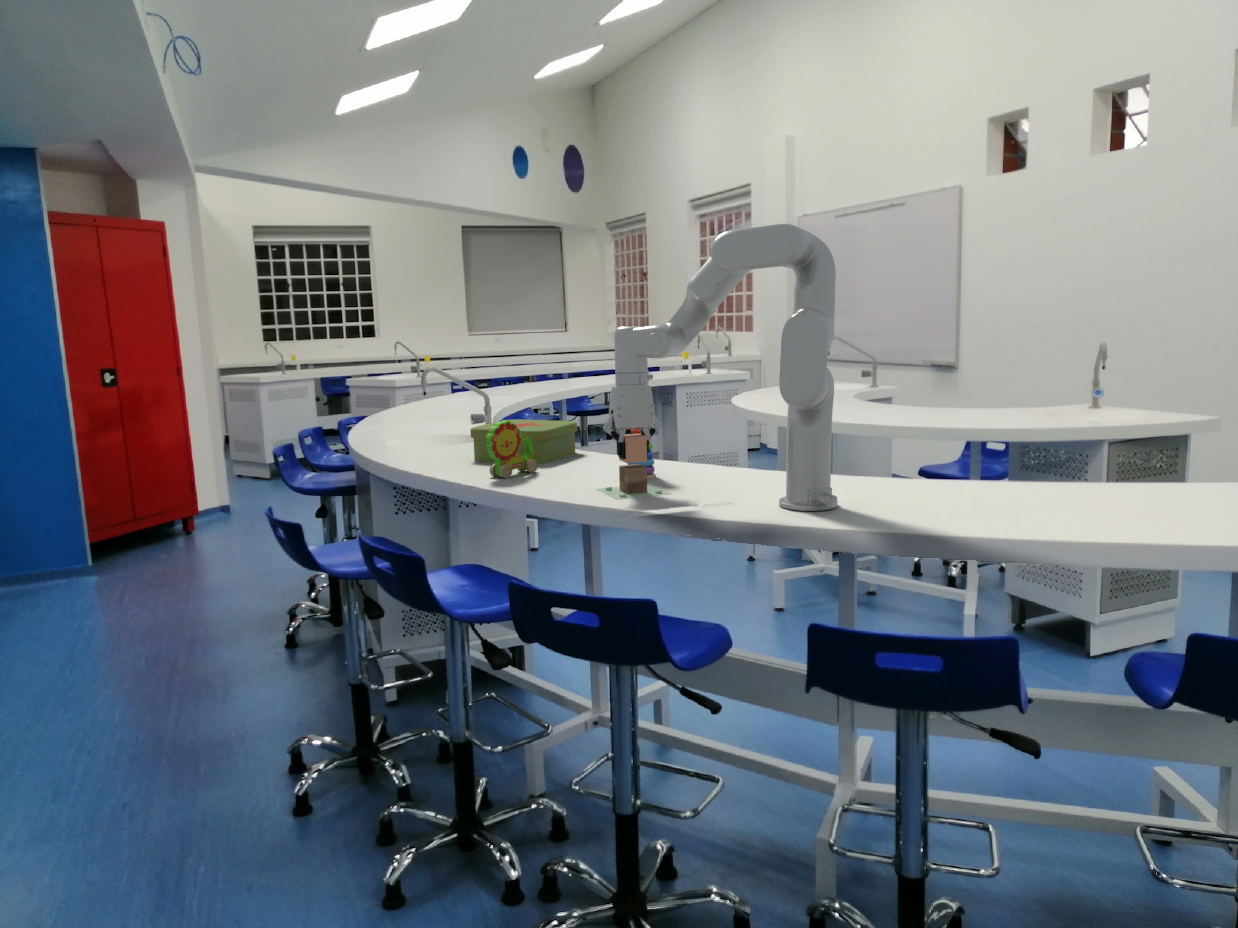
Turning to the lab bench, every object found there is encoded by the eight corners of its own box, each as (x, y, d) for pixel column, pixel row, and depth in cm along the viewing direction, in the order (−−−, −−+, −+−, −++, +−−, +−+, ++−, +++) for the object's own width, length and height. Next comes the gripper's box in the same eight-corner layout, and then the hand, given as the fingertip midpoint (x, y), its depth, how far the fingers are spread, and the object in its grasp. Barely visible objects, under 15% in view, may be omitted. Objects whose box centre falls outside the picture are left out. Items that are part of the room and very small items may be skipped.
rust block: (647, 461, 206) (646, 436, 205) (627, 463, 205) (626, 437, 204) (638, 458, 211) (638, 433, 210) (619, 460, 209) (618, 435, 208)
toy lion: (524, 470, 248) (522, 416, 245) (538, 472, 244) (537, 417, 242) (482, 478, 236) (480, 422, 233) (496, 480, 232) (494, 423, 230)
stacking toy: (653, 483, 223) (652, 410, 220) (622, 483, 225) (620, 410, 222) (658, 478, 231) (657, 407, 228) (628, 477, 233) (626, 407, 230)
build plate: (672, 498, 205) (672, 491, 205) (616, 503, 200) (616, 496, 200) (648, 487, 218) (648, 481, 218) (595, 493, 213) (595, 486, 213)
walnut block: (647, 492, 208) (646, 467, 207) (627, 494, 206) (627, 468, 205) (639, 488, 212) (638, 464, 211) (619, 490, 210) (619, 465, 209)
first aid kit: (466, 461, 267) (465, 428, 265) (510, 449, 290) (509, 418, 289) (543, 465, 256) (542, 431, 255) (582, 452, 280) (581, 421, 278)
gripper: (658, 377, 211) (659, 452, 214) (591, 380, 205) (593, 458, 208) (671, 379, 204) (672, 457, 207) (602, 382, 198) (604, 462, 201)
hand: (633, 456), depth 208 cm, fingers closed on rust block, 4 cm apart
